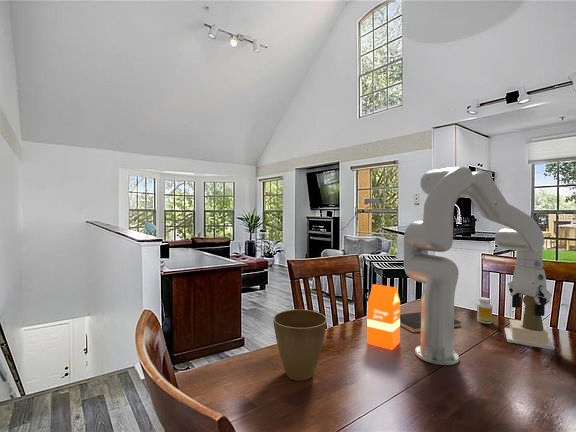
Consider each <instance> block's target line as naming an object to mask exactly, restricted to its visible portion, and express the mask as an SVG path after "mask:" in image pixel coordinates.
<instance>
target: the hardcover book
mask: <svg viewBox="0 0 576 432" xmlns="http://www.w3.org/2000/svg"><path fill="white" fill-rule="evenodd" d="M461 325H462V321H460V320H458V319H455V318H454V328H456V327H461ZM400 327H402V328H405V329H406V330H408V331H410V332H413V333H417V332H419V333H421V311H419V312H409V313H400Z"/></svg>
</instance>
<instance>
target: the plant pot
mask: <svg viewBox="0 0 576 432" xmlns="http://www.w3.org/2000/svg"><path fill="white" fill-rule="evenodd" d="M272 318H273V319H272V320H273V329H274V334H275V340H276V345H277V349H278V353H279V357H280V359H281V363H282V366H283V369H284V371H285V374H286V376H287V377H288V378H289V379H291V380H294V381H299V382H300V381H301V382H302V381H306V380H310V379H311V378H312V377H313V376H314V373H315V370H316V368H317V365H318V362H319V359H320V356H321V352H322V348H323V345H324V340H325V335H326V328H327V322H328V320H327V319H328V318H327V317H326V315H324V314H323V313H320V312H318V311H314V310H309V309H288V310H283V311H281V312H278V313H276V314H274V316H273V317H272Z"/></svg>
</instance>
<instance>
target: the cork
mask: <svg viewBox="0 0 576 432" xmlns="http://www.w3.org/2000/svg"><path fill="white" fill-rule="evenodd" d="M523 296H524V297H523V298H522V302H523V304H524V312H523V318H522V319H523V320H522V321H523V325H522V326H523V327H524V328H527V329H532V330H544V328H543V325H544V323H543V322H544V321H543V316H535V304H537V303H536V301H535V299H534V298H533V297H529V296H526V295H523ZM539 300H540V298H539Z"/></svg>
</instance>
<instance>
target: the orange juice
mask: <svg viewBox="0 0 576 432" xmlns="http://www.w3.org/2000/svg"><path fill="white" fill-rule="evenodd" d="M400 314H401V300H400V296H399V291H398V289H397V287H396V286H390V285H389V286H387V285H383V284H375V283H374V284H373V283H372V286H371V290H370V292H369V297H368V301H367V319H366V320H367V322H366V324H367V325H366V328H367V331H366V332H367V333H366V334H367V335H366V336H367V337H366V339H367V340H366V343H367V344H368V345H372V346H375V347H380V348H383V349H386V350H391V351H393V350H394V349H395V348H396V347H397V346H398V345H399V344H400V343H401V342H400V341H401V340H400V339H401V338H400V337H401V336H400V334H401V333H400V332H401V325H400Z"/></svg>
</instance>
